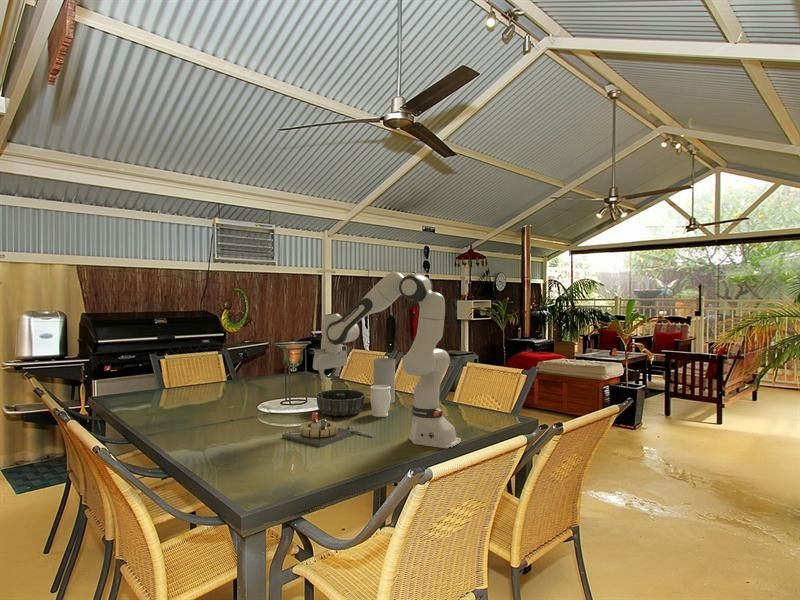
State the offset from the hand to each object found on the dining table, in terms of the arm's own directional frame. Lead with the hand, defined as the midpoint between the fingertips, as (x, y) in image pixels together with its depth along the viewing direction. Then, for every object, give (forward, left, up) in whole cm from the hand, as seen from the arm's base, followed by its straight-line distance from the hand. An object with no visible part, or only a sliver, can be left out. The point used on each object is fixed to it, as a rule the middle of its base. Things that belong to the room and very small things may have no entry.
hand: (330, 377), depth 222 cm
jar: (-6, -33, -24) cm, 41 cm away
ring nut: (-6, +13, -22) cm, 26 cm away
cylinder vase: (+10, -59, -24) cm, 64 cm away
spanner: (-19, 0, -24) cm, 30 cm away
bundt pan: (+14, -25, -24) cm, 37 cm away
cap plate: (-6, +13, -23) cm, 27 cm away
